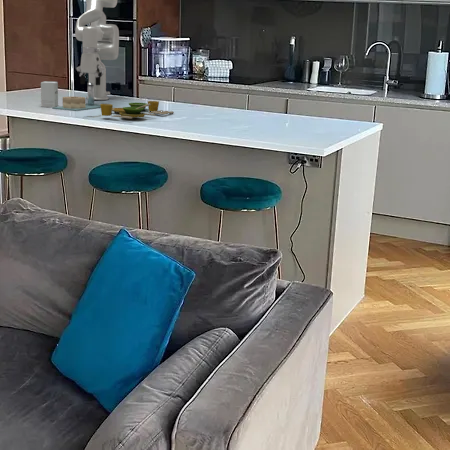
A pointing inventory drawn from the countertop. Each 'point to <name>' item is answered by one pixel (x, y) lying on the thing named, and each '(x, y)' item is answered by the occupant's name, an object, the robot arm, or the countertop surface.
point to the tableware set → (133, 110)
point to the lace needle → (90, 93)
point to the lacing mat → (79, 109)
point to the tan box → (74, 102)
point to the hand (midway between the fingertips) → (90, 84)
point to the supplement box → (49, 94)
